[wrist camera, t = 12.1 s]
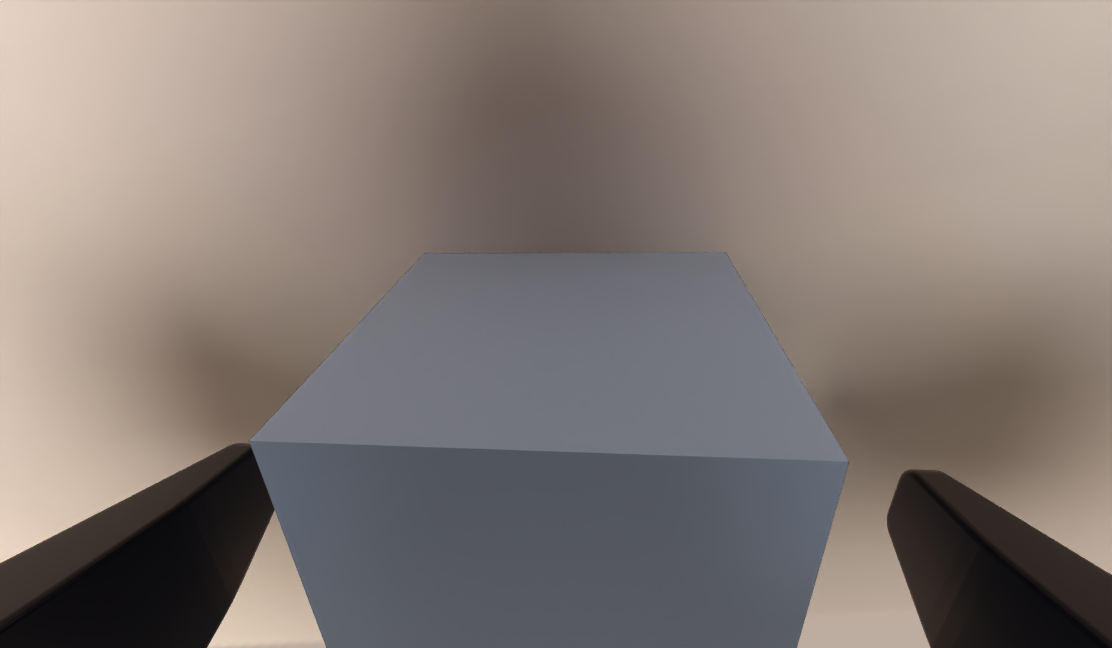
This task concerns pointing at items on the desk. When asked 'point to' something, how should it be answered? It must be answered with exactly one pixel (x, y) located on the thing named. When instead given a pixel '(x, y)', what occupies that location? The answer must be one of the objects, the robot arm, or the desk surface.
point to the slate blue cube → (556, 461)
